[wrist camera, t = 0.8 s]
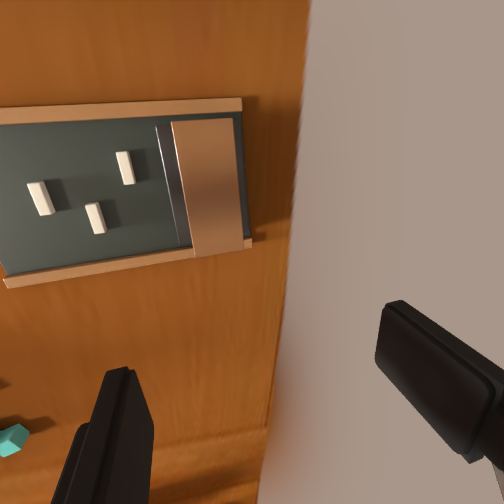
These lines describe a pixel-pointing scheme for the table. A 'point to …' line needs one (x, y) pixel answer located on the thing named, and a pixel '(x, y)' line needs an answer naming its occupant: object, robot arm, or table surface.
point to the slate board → (92, 187)
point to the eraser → (205, 183)
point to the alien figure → (12, 439)
